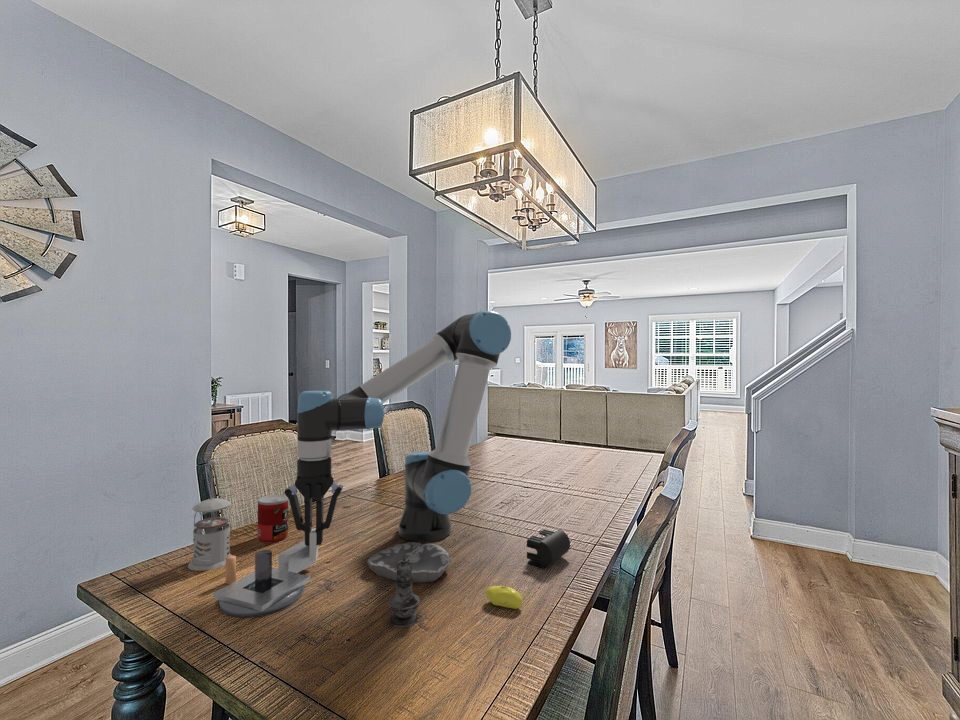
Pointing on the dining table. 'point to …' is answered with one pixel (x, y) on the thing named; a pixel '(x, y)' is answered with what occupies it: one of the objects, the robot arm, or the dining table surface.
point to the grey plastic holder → (284, 577)
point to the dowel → (230, 569)
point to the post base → (268, 610)
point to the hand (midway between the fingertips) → (313, 558)
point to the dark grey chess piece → (404, 597)
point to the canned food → (272, 518)
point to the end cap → (547, 548)
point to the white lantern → (210, 534)
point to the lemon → (504, 596)
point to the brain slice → (411, 561)
